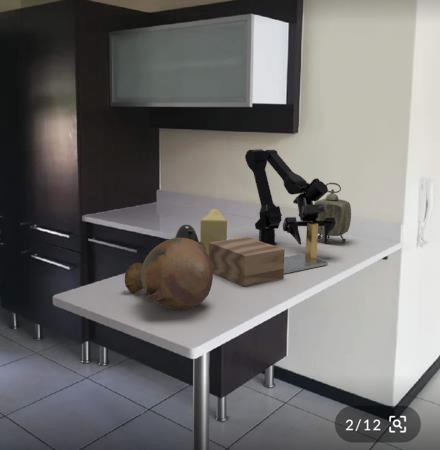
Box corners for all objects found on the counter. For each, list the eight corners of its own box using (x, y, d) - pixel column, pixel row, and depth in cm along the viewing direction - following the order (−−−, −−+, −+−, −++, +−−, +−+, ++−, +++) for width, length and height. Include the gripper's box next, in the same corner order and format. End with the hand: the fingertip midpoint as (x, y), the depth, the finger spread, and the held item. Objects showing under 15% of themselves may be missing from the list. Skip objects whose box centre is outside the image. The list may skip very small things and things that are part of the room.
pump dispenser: (178, 273, 187) (178, 228, 184) (166, 265, 196) (166, 222, 193) (206, 269, 192) (206, 226, 189) (193, 262, 201) (193, 220, 198)
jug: (225, 311, 153) (161, 301, 175) (229, 240, 154) (165, 238, 176) (165, 314, 139) (104, 302, 162) (170, 235, 140) (109, 234, 163)
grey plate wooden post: (271, 276, 184) (273, 234, 182) (247, 266, 195) (248, 227, 192) (327, 264, 199) (329, 226, 196) (302, 256, 209) (304, 219, 207)
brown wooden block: (208, 271, 190) (209, 242, 188) (246, 264, 199) (246, 236, 197) (244, 287, 174) (245, 255, 172) (283, 278, 183) (284, 249, 181)
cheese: (203, 243, 228) (203, 207, 225) (227, 244, 228) (227, 208, 225) (200, 258, 206) (200, 218, 203) (226, 258, 206) (227, 218, 203)
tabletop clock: (349, 242, 234) (353, 183, 229) (342, 246, 226) (346, 185, 221) (316, 238, 241) (319, 180, 236) (308, 242, 233) (311, 182, 228)
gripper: (285, 195, 201) (292, 232, 193) (336, 195, 203) (344, 231, 195) (280, 212, 210) (285, 248, 202) (328, 212, 213) (335, 247, 204)
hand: (312, 243), depth 200 cm, fingers open, 9 cm apart
